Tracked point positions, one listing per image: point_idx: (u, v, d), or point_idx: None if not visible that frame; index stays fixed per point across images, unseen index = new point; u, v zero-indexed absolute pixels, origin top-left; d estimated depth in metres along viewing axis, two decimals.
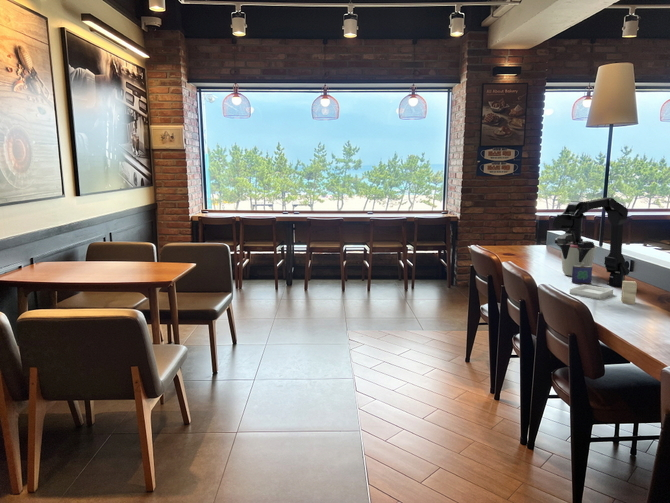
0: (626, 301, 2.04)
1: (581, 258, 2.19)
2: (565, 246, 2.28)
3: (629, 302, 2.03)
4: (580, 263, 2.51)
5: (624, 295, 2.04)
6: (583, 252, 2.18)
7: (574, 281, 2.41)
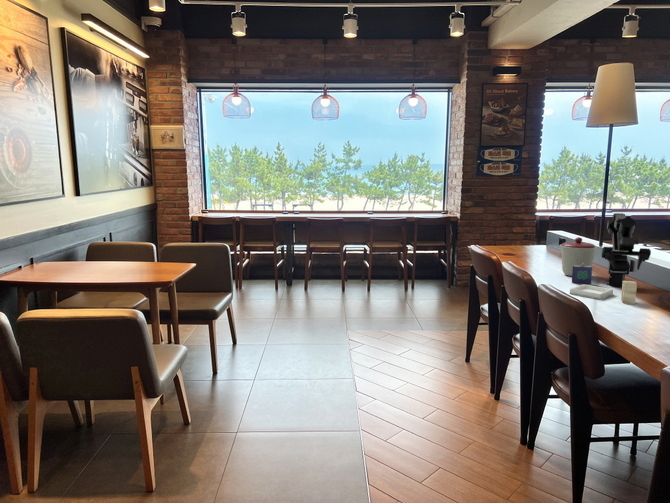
0: (626, 301, 2.04)
1: None
2: None
3: (629, 302, 2.03)
4: (580, 263, 2.51)
5: (624, 295, 2.04)
6: None
7: (574, 281, 2.41)
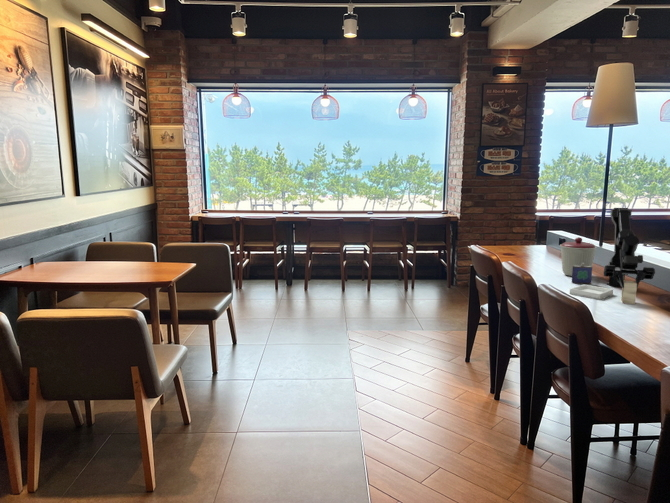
0: (626, 301, 2.04)
1: (638, 284, 2.03)
2: None
3: (629, 302, 2.03)
4: (580, 263, 2.51)
5: (624, 295, 2.04)
6: None
7: (574, 281, 2.41)
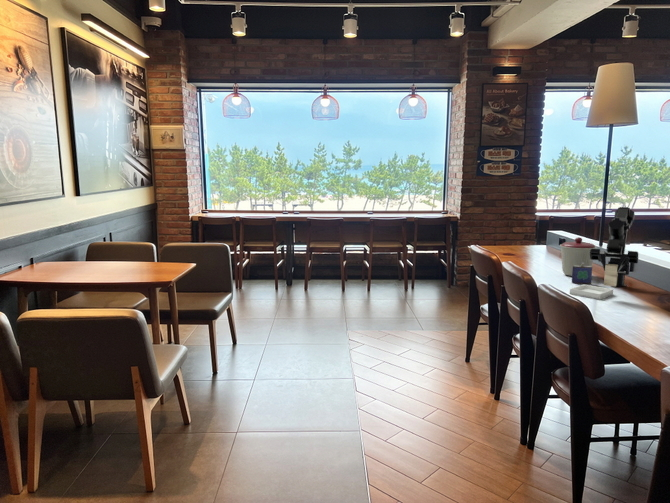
0: (607, 283, 2.09)
1: (620, 268, 2.07)
2: (605, 259, 2.13)
3: (610, 284, 2.08)
4: (580, 263, 2.51)
5: (605, 277, 2.09)
6: (622, 263, 2.08)
7: (574, 281, 2.41)
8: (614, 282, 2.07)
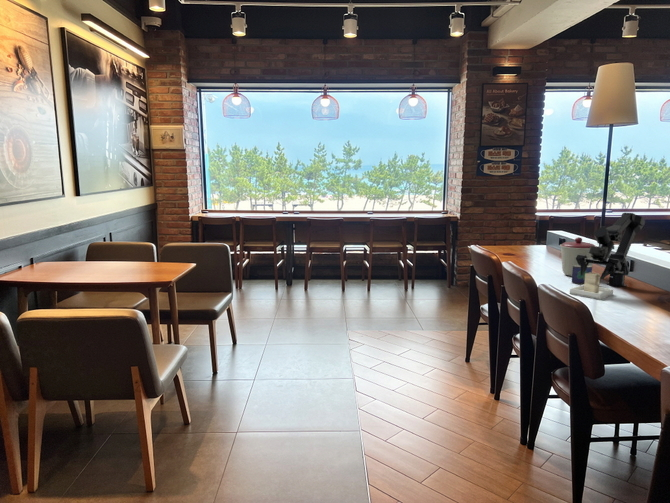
0: None
1: (604, 275, 2.14)
2: (585, 264, 2.23)
3: None
4: None
5: (585, 285, 2.19)
6: (608, 270, 2.14)
7: (574, 281, 2.41)
8: (593, 290, 2.16)
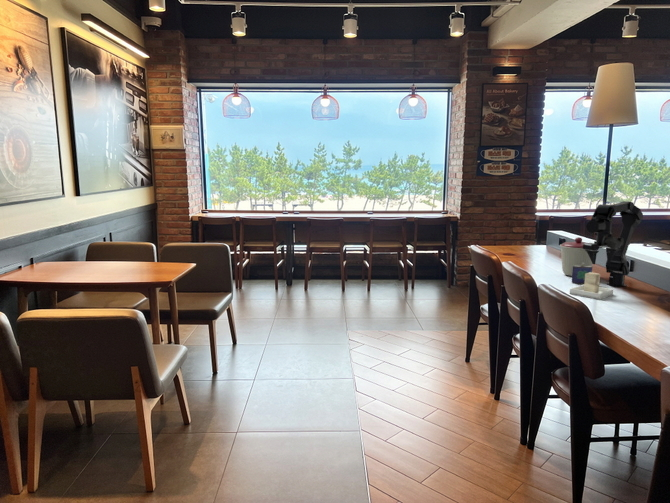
0: None
1: None
2: None
3: None
4: (580, 263, 2.51)
5: (585, 285, 2.19)
6: None
7: (574, 281, 2.41)
8: (593, 290, 2.16)
